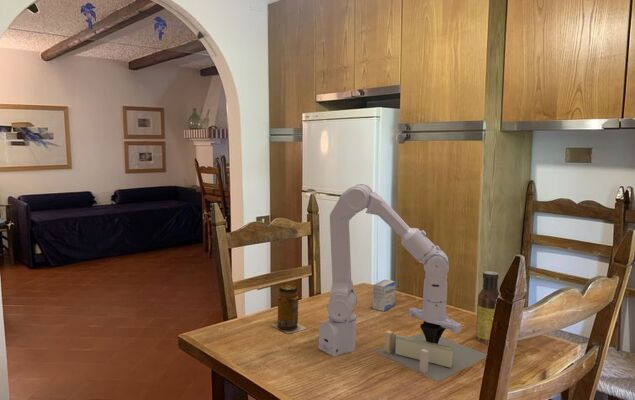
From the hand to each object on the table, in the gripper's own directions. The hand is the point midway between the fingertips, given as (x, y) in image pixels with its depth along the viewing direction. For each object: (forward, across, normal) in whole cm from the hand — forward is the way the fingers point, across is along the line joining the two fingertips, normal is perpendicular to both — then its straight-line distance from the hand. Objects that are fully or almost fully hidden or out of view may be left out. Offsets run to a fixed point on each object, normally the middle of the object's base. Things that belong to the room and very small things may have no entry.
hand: (432, 351), depth 116 cm
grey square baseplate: (+3, +2, -2) cm, 4 cm away
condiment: (+3, +40, +16) cm, 43 cm away
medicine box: (+3, +35, -20) cm, 40 cm away
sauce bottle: (+3, -2, -22) cm, 23 cm away
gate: (+1, +1, +3) cm, 4 cm away
